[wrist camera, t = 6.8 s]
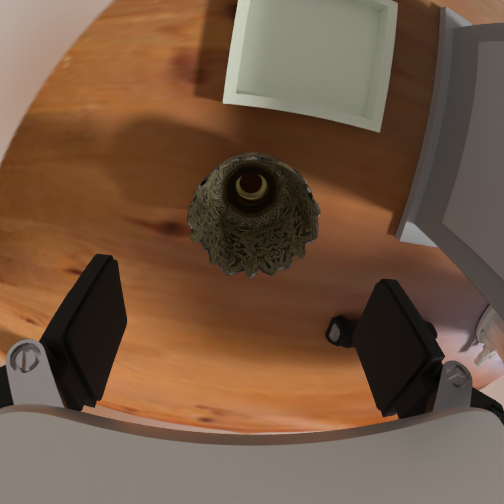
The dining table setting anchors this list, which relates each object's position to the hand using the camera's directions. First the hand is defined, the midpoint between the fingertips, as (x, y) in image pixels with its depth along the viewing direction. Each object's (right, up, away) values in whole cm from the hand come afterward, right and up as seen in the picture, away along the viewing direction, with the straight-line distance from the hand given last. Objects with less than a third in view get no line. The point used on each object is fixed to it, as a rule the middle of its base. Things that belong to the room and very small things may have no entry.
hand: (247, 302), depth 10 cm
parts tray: (+5, +17, +7) cm, 19 cm away
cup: (0, +7, +13) cm, 15 cm away
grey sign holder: (+19, +13, +10) cm, 25 cm away
